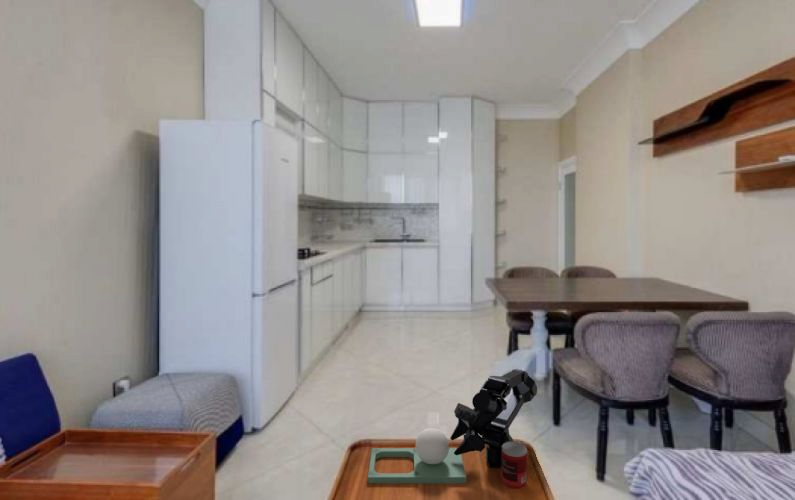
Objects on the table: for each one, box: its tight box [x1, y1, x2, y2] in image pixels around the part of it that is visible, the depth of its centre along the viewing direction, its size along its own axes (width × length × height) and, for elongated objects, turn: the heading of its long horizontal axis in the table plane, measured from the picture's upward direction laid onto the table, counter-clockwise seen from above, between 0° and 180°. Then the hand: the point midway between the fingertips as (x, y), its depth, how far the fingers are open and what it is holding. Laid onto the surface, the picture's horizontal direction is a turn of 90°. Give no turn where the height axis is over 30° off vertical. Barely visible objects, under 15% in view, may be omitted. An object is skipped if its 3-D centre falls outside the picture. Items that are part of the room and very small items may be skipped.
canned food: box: [500, 441, 528, 489], centre depth 142 cm, size 8×8×11 cm
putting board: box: [367, 447, 467, 484], centre depth 150 cm, size 31×17×2 cm, turn 89°
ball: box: [415, 427, 450, 464], centre depth 149 cm, size 11×11×11 cm
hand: (453, 446), depth 149 cm, fingers open, 9 cm apart
